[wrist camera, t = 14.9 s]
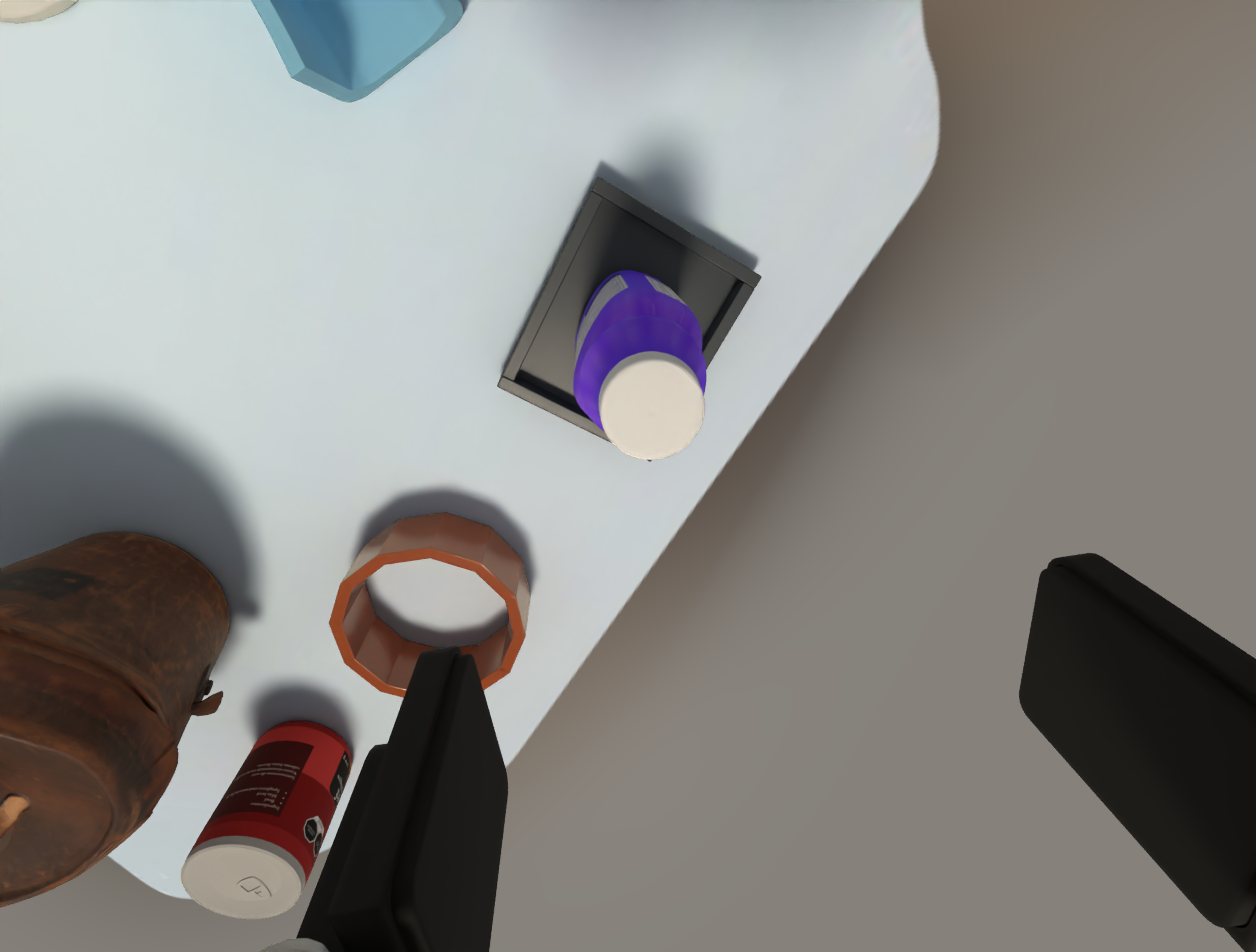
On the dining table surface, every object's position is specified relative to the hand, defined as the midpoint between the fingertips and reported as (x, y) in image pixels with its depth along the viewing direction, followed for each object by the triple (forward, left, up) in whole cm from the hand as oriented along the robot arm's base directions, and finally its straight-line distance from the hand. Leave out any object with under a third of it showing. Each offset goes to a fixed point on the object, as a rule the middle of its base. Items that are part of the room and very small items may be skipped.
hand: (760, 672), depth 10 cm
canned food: (-31, -31, -32) cm, 55 cm away
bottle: (0, 0, -32) cm, 32 cm away
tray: (0, 0, -32) cm, 32 cm away
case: (-38, -16, -32) cm, 52 cm away
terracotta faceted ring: (-16, -17, -32) cm, 40 cm away
